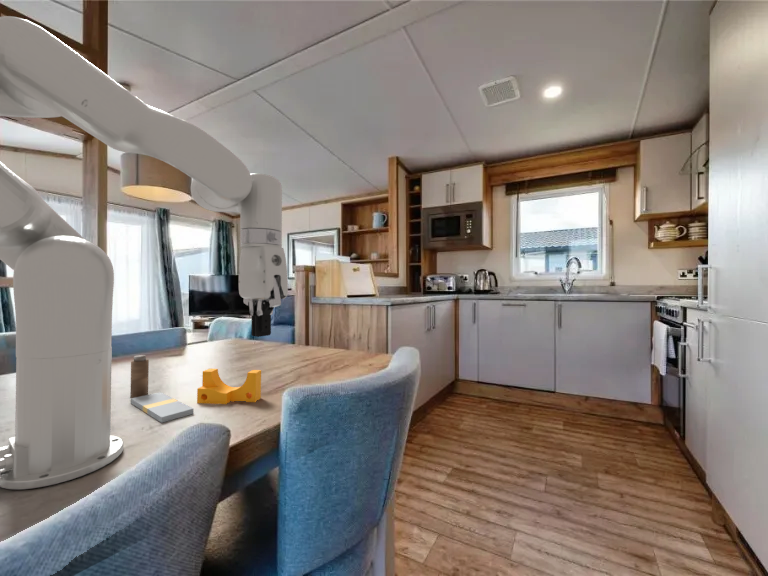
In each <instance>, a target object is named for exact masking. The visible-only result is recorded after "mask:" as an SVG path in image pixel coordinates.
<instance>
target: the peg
mask: <svg viewBox="0 0 768 576" xmlns="http://www.w3.org/2000/svg"><path fill="white" fill-rule="evenodd" d="M149 360H150V359H148V358H147V355H146V354H141V355H140V354H139V355H134V356H133V360H131V361H130V394H129V395H130V399H131V398H135V397H140V396H145V395H149V373H150V372H149V371H150V370H149V362H150V361H149Z"/></svg>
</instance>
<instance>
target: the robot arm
mask: <svg viewBox="0 0 768 576" xmlns="http://www.w3.org/2000/svg"><path fill="white" fill-rule="evenodd" d="M0 117H11V118H12V117H13V118H28V119H29V118H34V119H36V118H37V119H42V118H43V119H46V118H47V119H50V118H59V117H62V118H64V119H66V120H67V121H69V122H70V123H71V124H74V125H75V126H77V127H78V128H80V130H81V129H82V130H83V131H84V132H86V133H88V134H89V135H91V136H92V137H94V138H95V139H96V140H99V141H100V142H101V143H103V144H105V145H106V146H108V147H110V148H111V149H113V150H115V151H119V152H122V153H128V154H137V155H138V154H139V155H144V156H149V157H152V158H154V159H157V160H159V161H161V162H162V161H163V162H164V163H166V164H168V165H170V166H172V167H173V168H175V169H176V170H179V171H180V172H182V173H183V174H185V175H187V176H188V177H190V179H191V178H192V181H191V184H190V193H191V196H192V199H193V200H194V201H195V203H196V204H197V205H198V206H199V207H201V208H203V209H205V210H207V211H210V212H214V213H215V212H216V213H239V214H240V215H239V217H240V220H239V221H240V222H239V224H240V226H239V227H240V233H239V234H240V240H239V241H240V246H239V247H240V249H241V250H240V256H239V257H240V258H239V264H238V266H239V268H238V293H239V296H240V297H241V298H243V304H245V305H246V306H248V308H249V314H250V316H251V337H255V338H259V337H266V336H268V337H269V336H271V334H272V315H273V313H274V309H275V308H277V307H279V306H281V305H282V300H284V299H286V298H287V297H288V295H289V294H288V293H289V291H288V290H289V286H288V285H289V284H288V268H287V259H286V253H285V250H284V247H282V245H283V236H282V235H283V233H282V231H283V229H282V227H283V223H282V221H283V220H282V219H283V217H282V216H283V201H282V200H283V186H282V184H281V181H280V180H279V179H278V178H277V177H275V176H272V175H269V174H266V173H260V172H259V173H254V172H253V173H251V172H250V170H249V169H248V166H246V164H245V163H244V162H243V161H242V160H241V158H239V157H238V156H237V155H236V154H235V153H234V152H233V151H231V150H230V149H229V148H228V147H226V146H225V145H224V144H222V143H221V142H219V141H218V140H217V139H216V138H214V137H213V136H212V135H210V134H209V133H208V132H206V131H204V130H203V129H202V128H200V127H198V126H196V125H194V124H193V123H191V122H189V121H187V120H184V119H182V118H180V117H177V116H175V115H173V114H170V113H169V112H166V111H164V110H162V109H160V108H159V109H158V108H156V107H153V106H151V105H149V104H147V103H146V102H145V101H143V100H141V99H140V98H138V96H135V94H133V93H131V91H129V90H128V89H126V88H125V87H124V86H122V85H121V84H120V83H118V82H117V81H116V80H114V79H113V78H111V77H110V76H109V75H108V74H106V73H105V72H104V71H102V70H101V69H99V68H98V67H97V66H95V65H94V64H93V63H91V62H90V61H89V60H87V59H86V58H84V57H83V56H82V55H80V54H79V52H77V51H75V50H74V49H73V48H71V47H70V46H68V45H67V44H65V43H64V42H63V41H62V40H60V39H59V38H57V37H56V36H55V35H53V34H52V33H50V32H49V31H47V30H46V29H45V28H43V27H42V26H40V25H38V24H36V23H34V22H32V21H30V20H28V19H24V18H22V17H17V16H13V15H12V16H11V15H8V16H7V15H3V16H0ZM0 261H1V262H2V263H4V264H5V265H6V266H8V267H9V268H10V269H12V270H13V276H12V277H13V278H12V286H13V300H14V311H15V358H16V361H15V364H16V365H15V369H16V370H15V423H14V426H15V427H14V433H15V434H14V436H11V437H9V438H8V444H6V445H3V446H0V488H3V489H7V490H29V489H31V490H32V489H38V488H42V487H48V486H53V485H57V484H62V483H64V482H68V481H71V480H74V479H76V478H80V477H83V476H86V475H88V474H90V473H93V472H95V471H97V470H99V469H102V468H103V467H105V466H106V465H109V464H110V463H112V462H113V461H115V460H117V458H118V457H119V456H120V455H121V454H122V453H123V450H124V441H123V439H122V437H121V438H120V437H119V436H116V435H111V425H112V424H111V423H112V422H111V420H112V419H111V417H112V416H111V414H112V413H111V410H112V361H113V360H112V354H113V352H112V351H113V349H112V336H113V335H112V334H113V332H112V331H113V329H112V328H113V327H112V325H113V303H114V302H113V301H114V299H113V298H114V287H115V286H114V285H115V273H114V266H113V263H112V260H111V259H110V257H109V256H108V255H107V253H106V251H104V250H103V249H102V248H101V247H100V246H98V245H96V244H95V243H93V242H91V241H89V240H87V239H85V238H84V237H83V235H81V234H80V233H79V232H78V231H77V230H76V229H75V228H73V227H72V226H71V225H70V224H69V223H68V222H67V221H66V220H65V219H64V218H63V217H61V215H59V214H58V213H57V212H56V211H55V210H54V209H53V208H52V207H51V206H50V205H49V204H48V203H47V201H45V199H43V197H42V196H41V194H40V193H39V192H38V191H37V189H35V187H33V186H32V184H29V183H28V182H27V181H25V180H24V179H23V178H22V177H20V176H19V175H17V174H16V173H15V172H14V171H13V170H11V169H10V168H8V166H6V165H5V163H3V162H2V161H1V160H0Z"/></svg>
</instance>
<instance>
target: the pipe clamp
mask: <svg viewBox="0 0 768 576" xmlns="http://www.w3.org/2000/svg"><path fill="white" fill-rule="evenodd" d="M201 385H202V386H200V387H198V388H197V391H196V392H197V394H196V395H197V396H196V399H197V400H196V403H197V404H205V405H206V404H212V405H228V404H230V403H231V402H234V401H246V402H245V403H256V401H257V400H258V401H259V400H260V399H262V370H261V369H252V370H250V371H248V372H247V375H246V379H245V381H244V383H243V384H242V385H241V386H237V387H235V386H230V385H228V384H226V383H225V382H224V381H223V380H222V379H221V377H220V374H219V368H208V369H205V370H203V371H202V382H201ZM230 401H231V402H230ZM258 401H257V402H258ZM227 403H228V404H227Z"/></svg>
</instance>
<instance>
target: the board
mask: <svg viewBox="0 0 768 576" xmlns="http://www.w3.org/2000/svg"><path fill="white" fill-rule="evenodd" d="M130 404H131V405H133V406H134V407H136V408H138V409H140V410H141V411H142V412H144V413H145V414H147V415H148V416H150V417H152V418H153V419H154V420H156V421H158V422H159V423H161V424H162V423H165V422H166V423H167V422H169V421H172V420H176V419H179V418H182V417H187V416H190V415H194V408H193V407H192V406H190V405H187V404H186V403H183V402H181V401H179V400H178V399H175V398H173V397H171V396H169V395H168V394H166V393H164V392H161V391H160V392H155V393H151V394H150V393H148V395H145V396H140V397H135V398H130Z"/></svg>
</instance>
